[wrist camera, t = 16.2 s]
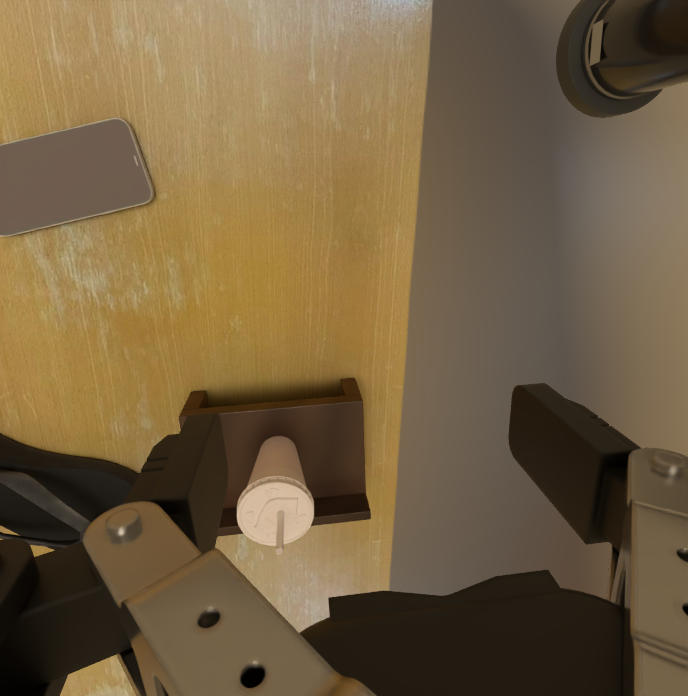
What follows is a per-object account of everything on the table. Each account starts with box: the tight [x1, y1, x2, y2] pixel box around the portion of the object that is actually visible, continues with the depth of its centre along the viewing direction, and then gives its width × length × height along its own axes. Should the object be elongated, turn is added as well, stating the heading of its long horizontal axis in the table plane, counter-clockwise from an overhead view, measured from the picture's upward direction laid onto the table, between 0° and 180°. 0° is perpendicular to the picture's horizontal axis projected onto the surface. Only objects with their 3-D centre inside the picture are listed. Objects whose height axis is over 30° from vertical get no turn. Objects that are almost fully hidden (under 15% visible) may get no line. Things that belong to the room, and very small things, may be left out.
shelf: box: [179, 378, 371, 536], centre depth 48 cm, size 18×12×9 cm, turn 93°
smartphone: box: [0, 118, 154, 237], centre depth 41 cm, size 7×1×15 cm
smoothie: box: [237, 436, 314, 554], centre depth 40 cm, size 6×6×14 cm
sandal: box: [0, 435, 138, 550], centre depth 48 cm, size 13×31×7 cm, turn 64°
